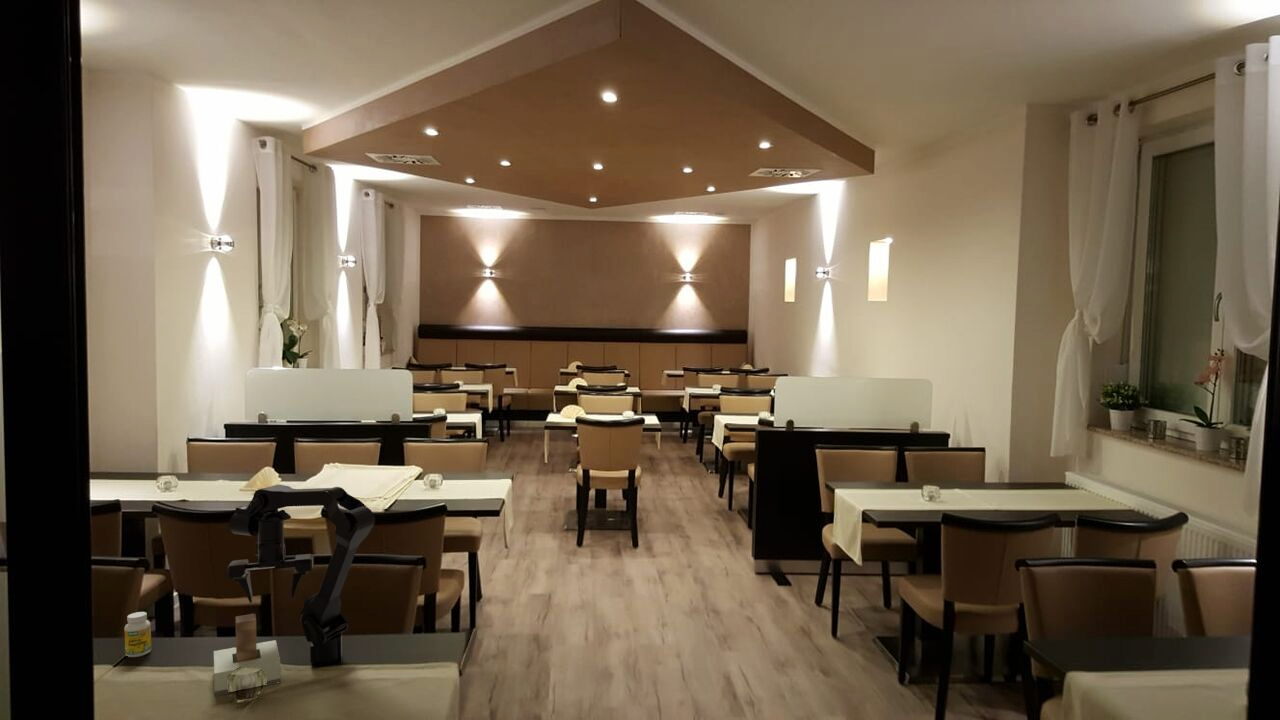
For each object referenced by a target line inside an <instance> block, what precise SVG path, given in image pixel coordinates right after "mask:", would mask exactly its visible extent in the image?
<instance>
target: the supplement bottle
mask: <svg viewBox="0 0 1280 720" xmlns="http://www.w3.org/2000/svg"><path fill="white" fill-rule="evenodd" d="M147 615H148V614H147V612H146V611H137V612H132V613H130V614H128V615H127V616H126V620H127V624H125V626H124V629H123V630H124V653H125V656H126V657H127V656H128V657H127V658H137V657H142V656H145V655H147V654H149V653H150V652H151V651H152V632H151V631H152V630H151V629H152V627H151V622H150V620H148V616H147Z"/></svg>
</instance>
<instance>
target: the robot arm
mask: <svg viewBox="0 0 1280 720" xmlns="http://www.w3.org/2000/svg"><path fill="white" fill-rule="evenodd" d="M317 506H320V507H321V506H322V507H323V508H324V509H326V512H327V513H326V514H327V516H328V519H329V521H330V522H331V523H332V524H333V525H334V526H335V528H334V536H335V540H336V544H335V546H334V549H333V552H332V554H331V557H330V560H329V563H328V566H327V568H326V571H325V573H324V576H323V579H322V581H321V584H320V587H319V590H318V592H317V593H316V594H313V595H311V596H310V597H308V598H306V599H305V601H304V603H303V604H304V605H303V608H302V610H300V612H299V615H301V617H300V623H301V625H302V629H303V632H304V636H305V639H306V641H307V642H309V643H310V648H309V649H310V651H309V652H310V653H309V655H310V657H309V659H310V663H311V664H312V666H311V668H312V669H318V668H325V667H332V666H339V665H342V664H343V657H344V656H343V654H344V653H343V649H342V648H343V647H342V646H343V644H342V643H343V639H342V633H344V632H346V631H348V628H349V624H350V622H349V621H348V620H347V619H346V617H345V616H344V615H343V613H342V612H341V610H342V609H341V608H342V603H341V600H340V599H341V598H340V595H341V592H342V589H343V587H344V584H345V581H346V579H347V577H348V574H349V571H350V569H351V565H352V563H353V560H354V558H355V555H356V552H357V550H358V547H359V545H360V544H361V543H362V542H363V541H365V539H366V538H367V537H368V535H369V534H370V533H371V532H372V531H371V530H372V529H373V527H374V526H375V523H376V517H375V515H374V513H373V511H372V510H371V509H370V508H369V507H367V505H365V504H364V503H363V502H362V500H360V499H358V498H356V497H355V496H352V495H351V494H349V493H348V492H347V491H346V490H345V489H344V488H343V487H342V486H341V487H340V486H334V487H321V488H320V487H319V488H318V487H317V488H293V487H291V486H289V485H285V484H284V485H283V484H275V485H271V486H267V487H263V488H259V489H256V490H255V491H254V493H253V496H252V498H251V500H250V502H249V504H248V505H247V506H244V505H242V506H241V505H240V506H238V507H235V511H234V513H233V514H232V516H231V518H230V520H229V522H228V528H229V530H230V532H231V533H232V534H234V535H241V536H242V535H243V536H249V537H254V536H255V537H256V536H257V542H255V544H254V556H257V557H258V562H251V563H249V558H248V559H247V558H245V559H236V560H232V561H231V562H230V563H229V565H228V566H227V569H226V578H227V579H232V580H233V582H237V583H238V584H239V585H240V586H241V588H242V590H243V591H244V593H245V596H246V597H247V598H246V599H247V600H248V601H249V604H252V603H253V589H252V583H251V582H252V581H251V572H257V571H258V572H259V571H269V570H279V569H289V568H290V569H291V568H294V570H293V574H292V575H293V576H292V583H291V593H290V595H291V599H294V597H295V593H296V591H297V588H298V584H299V582H300V580H301V578H302V576H304V575H307V574H308V572H311V571H313V567H314V555H313V554H312V553H305V554H296V555H295V559H294V558H293V559H286V556H287V555H286V544H285V531H284V530H285V527H284V526H285V525H284V522H285V521H289V520H290V519H291V518H292V516H291V514H289V513H287V512H286V510H285V509H283V508H287V507H288V508H289V507H317ZM339 506H340V507H341V508H344V509H346V510H347V511H345V512H343V511H342V510H341V509H340V507H339ZM280 509H282V510H280ZM276 510H277V511H276ZM285 559H286V560H285Z"/></svg>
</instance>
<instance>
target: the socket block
mask: <svg viewBox="0 0 1280 720" xmlns="http://www.w3.org/2000/svg"><path fill="white" fill-rule="evenodd" d="M256 645H257V659H254V660H248V661H243V662H238V663H236V646H235V647H230V648H224V649H219V650H213V673H214V674H213V677H214V685H213V686H214V697H219V696H222V695H228V694H229V693H228V690H227V676H228V674H230V673H232V672H233V671H235V670H236V669H237V668H239V667H243V668H245V667H246V668H250V667H257V668H261V669H263V670H264V671H265V672H266V676H267V683H266V684H267V686H271V684H272V685H275V684H274V683H276V684H278V683H277V682H280V681H281V682H282V680H281V678H282V677H281V676H282V675H281V658H280V654H279V653H280V652H279V650H278V649H279V648H278V644H277V640H276V639H275V640H269V641H263V642H262V641H261V642H258V643H257V642H256Z"/></svg>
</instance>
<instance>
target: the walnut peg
mask: <svg viewBox="0 0 1280 720" xmlns="http://www.w3.org/2000/svg"><path fill="white" fill-rule="evenodd" d="M256 615H257V614H256V613H248V614H245V615H237V616H235V647H236V663H238V662H243V661H248V660H254V659H257V645H256V644H257V617H256Z"/></svg>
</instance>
